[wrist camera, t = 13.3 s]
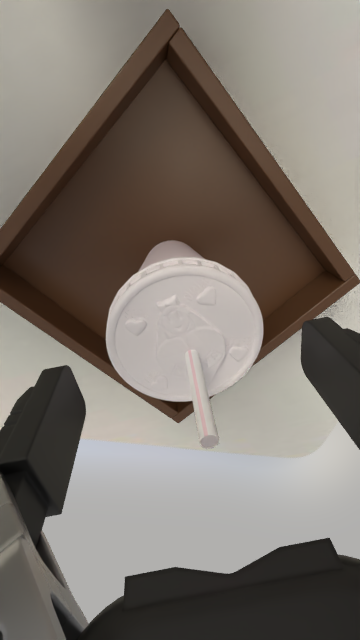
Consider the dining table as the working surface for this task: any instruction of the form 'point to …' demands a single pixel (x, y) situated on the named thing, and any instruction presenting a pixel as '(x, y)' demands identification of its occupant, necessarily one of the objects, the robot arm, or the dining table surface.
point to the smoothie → (184, 330)
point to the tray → (163, 209)
